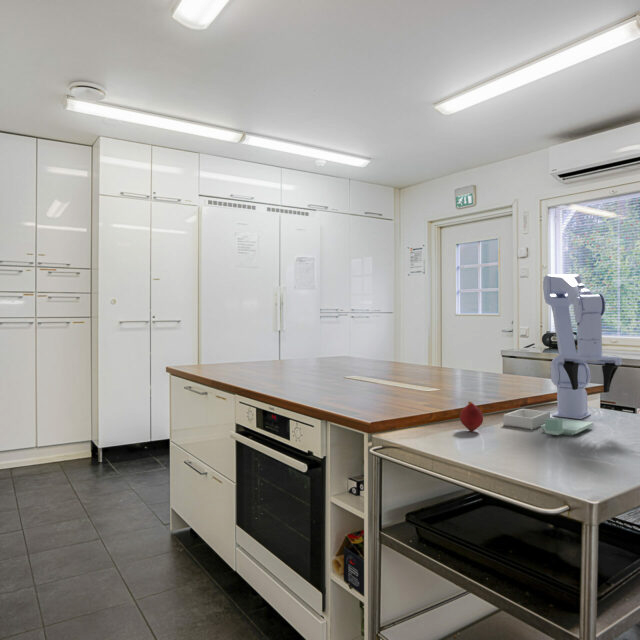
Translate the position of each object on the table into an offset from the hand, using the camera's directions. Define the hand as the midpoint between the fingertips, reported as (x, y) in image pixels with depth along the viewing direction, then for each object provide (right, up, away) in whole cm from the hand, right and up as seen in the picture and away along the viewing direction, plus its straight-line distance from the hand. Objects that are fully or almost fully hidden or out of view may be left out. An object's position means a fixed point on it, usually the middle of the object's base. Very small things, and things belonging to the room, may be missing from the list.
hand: (590, 390), depth 130 cm
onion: (-32, -11, 0) cm, 33 cm away
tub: (-14, -11, +7) cm, 19 cm away
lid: (-8, -11, -2) cm, 14 cm away
